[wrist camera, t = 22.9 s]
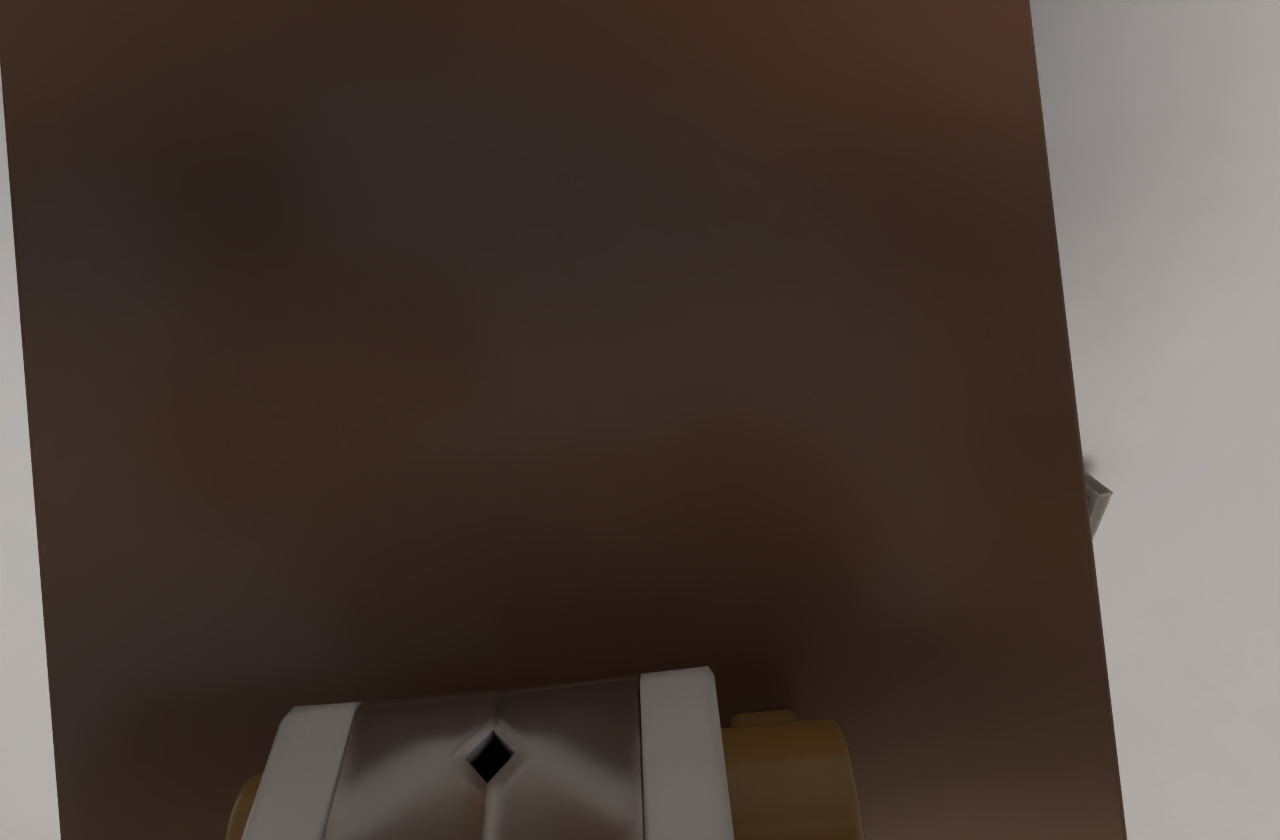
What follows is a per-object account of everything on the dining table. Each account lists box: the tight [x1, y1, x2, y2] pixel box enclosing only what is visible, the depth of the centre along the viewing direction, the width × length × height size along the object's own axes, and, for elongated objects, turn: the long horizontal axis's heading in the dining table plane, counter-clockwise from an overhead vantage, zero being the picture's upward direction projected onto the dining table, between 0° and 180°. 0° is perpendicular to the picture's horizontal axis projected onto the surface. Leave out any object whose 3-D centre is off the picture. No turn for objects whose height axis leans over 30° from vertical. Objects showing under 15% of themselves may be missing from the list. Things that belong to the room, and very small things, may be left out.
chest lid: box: [0, 0, 1127, 840], centre depth 11 cm, size 16×11×4 cm
